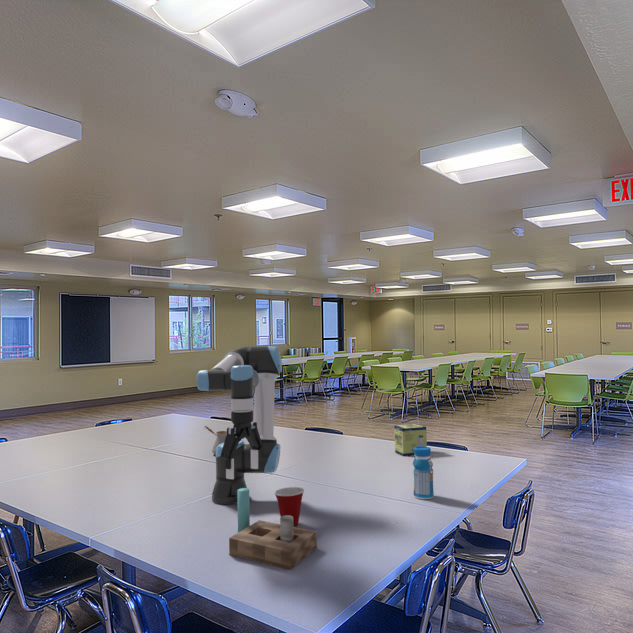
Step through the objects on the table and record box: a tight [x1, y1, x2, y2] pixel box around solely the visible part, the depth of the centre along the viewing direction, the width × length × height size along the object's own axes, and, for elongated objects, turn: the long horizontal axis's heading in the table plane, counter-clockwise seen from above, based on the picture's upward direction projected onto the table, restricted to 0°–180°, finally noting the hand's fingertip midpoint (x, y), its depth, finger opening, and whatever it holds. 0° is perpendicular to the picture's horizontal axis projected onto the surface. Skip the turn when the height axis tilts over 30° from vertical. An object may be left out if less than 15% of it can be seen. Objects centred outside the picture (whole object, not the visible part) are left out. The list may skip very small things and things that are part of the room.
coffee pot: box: [204, 425, 227, 456], centre depth 280 cm, size 21×12×15 cm, turn 52°
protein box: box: [393, 423, 428, 457], centre depth 271 cm, size 10×16×16 cm
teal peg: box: [237, 487, 251, 533], centre depth 161 cm, size 4×4×15 cm
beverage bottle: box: [412, 446, 435, 500], centre depth 196 cm, size 8×8×20 cm
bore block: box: [228, 515, 318, 571], centre depth 148 cm, size 16×22×11 cm
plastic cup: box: [273, 486, 305, 527], centre depth 170 cm, size 11×11×12 cm
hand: (242, 473), depth 161 cm, fingers open, 13 cm apart
